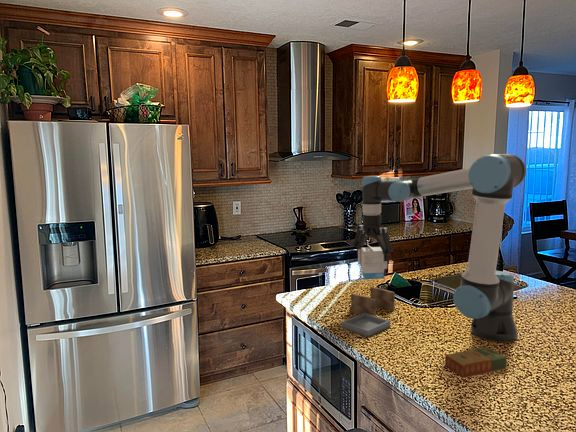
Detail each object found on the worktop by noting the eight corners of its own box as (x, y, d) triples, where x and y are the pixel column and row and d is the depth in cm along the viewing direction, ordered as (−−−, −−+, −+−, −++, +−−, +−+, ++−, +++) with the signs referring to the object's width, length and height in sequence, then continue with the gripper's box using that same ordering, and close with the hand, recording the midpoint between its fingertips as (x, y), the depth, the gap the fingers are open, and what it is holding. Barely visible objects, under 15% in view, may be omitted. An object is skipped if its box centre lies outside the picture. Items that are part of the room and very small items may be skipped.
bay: (394, 310, 181) (394, 292, 180) (374, 319, 172) (374, 300, 171) (369, 303, 191) (369, 286, 190) (349, 311, 182) (349, 293, 181)
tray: (390, 327, 164) (390, 320, 163) (367, 337, 155) (367, 331, 154) (364, 318, 173) (364, 312, 173) (341, 328, 164) (341, 321, 164)
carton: (444, 366, 133) (444, 353, 132) (486, 358, 137) (486, 345, 137) (463, 379, 125) (463, 365, 124) (506, 369, 130) (507, 356, 129)
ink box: (384, 279, 173) (384, 246, 171) (363, 279, 173) (363, 247, 171) (381, 273, 181) (380, 242, 180) (361, 274, 182) (360, 243, 180)
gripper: (402, 215, 167) (402, 269, 170) (355, 211, 185) (356, 260, 188) (390, 217, 162) (390, 273, 165) (343, 212, 181) (344, 263, 183)
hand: (372, 266), depth 177 cm, fingers closed on ink box, 11 cm apart
